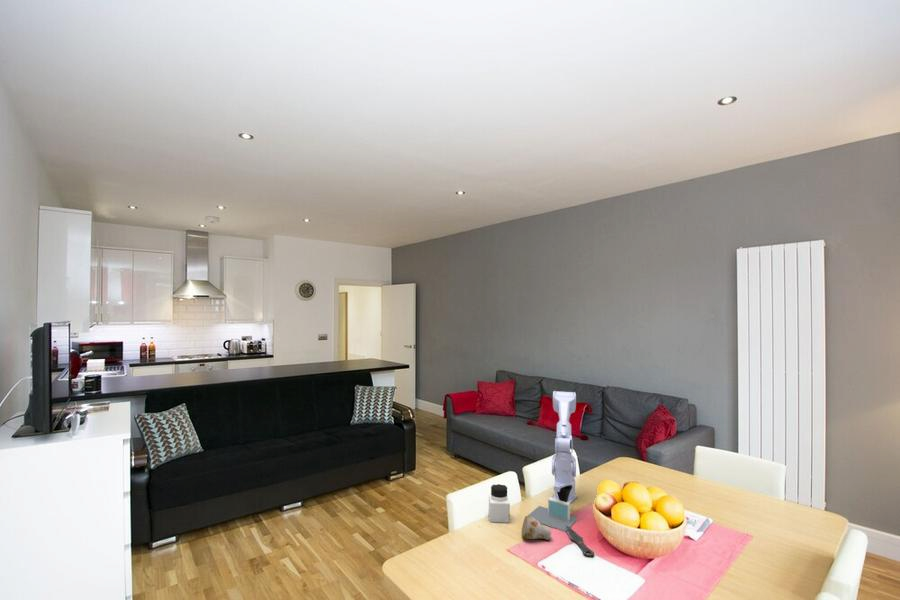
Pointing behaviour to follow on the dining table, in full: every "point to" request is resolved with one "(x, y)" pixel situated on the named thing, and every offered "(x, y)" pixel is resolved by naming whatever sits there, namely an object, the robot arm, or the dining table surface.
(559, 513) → the tile
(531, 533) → the mug
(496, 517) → the medicine bottle
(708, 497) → the dining table surface
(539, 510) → the mat
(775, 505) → the dining table surface
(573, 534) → the throwing knife
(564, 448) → the robot arm
